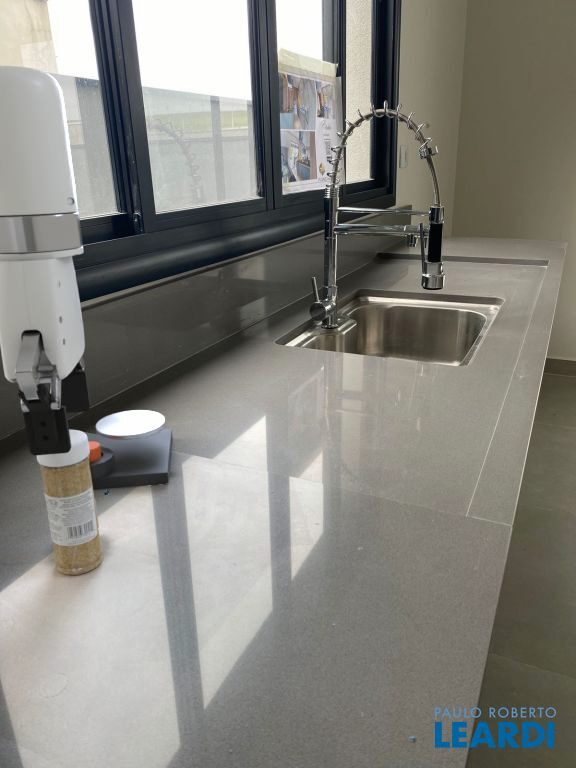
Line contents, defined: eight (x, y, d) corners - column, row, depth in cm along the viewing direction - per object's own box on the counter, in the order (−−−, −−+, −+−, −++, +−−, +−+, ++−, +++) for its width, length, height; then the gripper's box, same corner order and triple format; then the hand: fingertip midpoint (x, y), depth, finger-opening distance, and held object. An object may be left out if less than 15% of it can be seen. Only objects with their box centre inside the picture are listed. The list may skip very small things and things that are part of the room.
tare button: (75, 464, 73) (73, 451, 73) (79, 454, 76) (78, 441, 75) (99, 462, 74) (97, 449, 73) (102, 453, 76) (101, 440, 76)
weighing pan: (91, 449, 76) (90, 437, 76) (102, 422, 85) (101, 412, 84) (164, 444, 78) (163, 432, 77) (167, 418, 86) (166, 408, 86)
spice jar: (102, 545, 62) (86, 424, 58) (105, 571, 58) (88, 443, 54) (54, 555, 61) (35, 431, 56) (54, 581, 57) (33, 451, 52)
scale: (64, 494, 73) (60, 468, 71) (84, 445, 86) (81, 422, 85) (168, 486, 74) (166, 460, 73) (172, 439, 88) (171, 417, 87)
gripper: (15, 231, 57) (43, 401, 63) (-57, 250, 41) (-11, 477, 46) (97, 228, 58) (117, 396, 63) (58, 245, 42) (90, 469, 47)
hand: (63, 430), depth 55 cm, fingers open, 9 cm apart
